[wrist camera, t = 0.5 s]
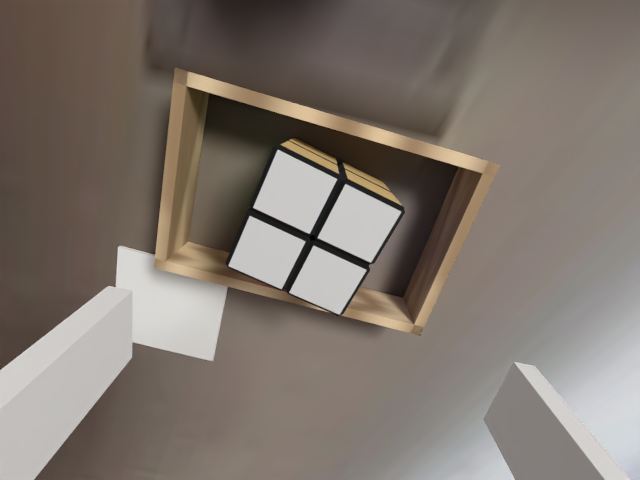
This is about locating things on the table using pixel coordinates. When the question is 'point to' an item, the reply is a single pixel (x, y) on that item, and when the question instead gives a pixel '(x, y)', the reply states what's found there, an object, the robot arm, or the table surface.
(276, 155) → the puzzle cube
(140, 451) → the table surface
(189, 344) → the pad
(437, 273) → the wooden frame
